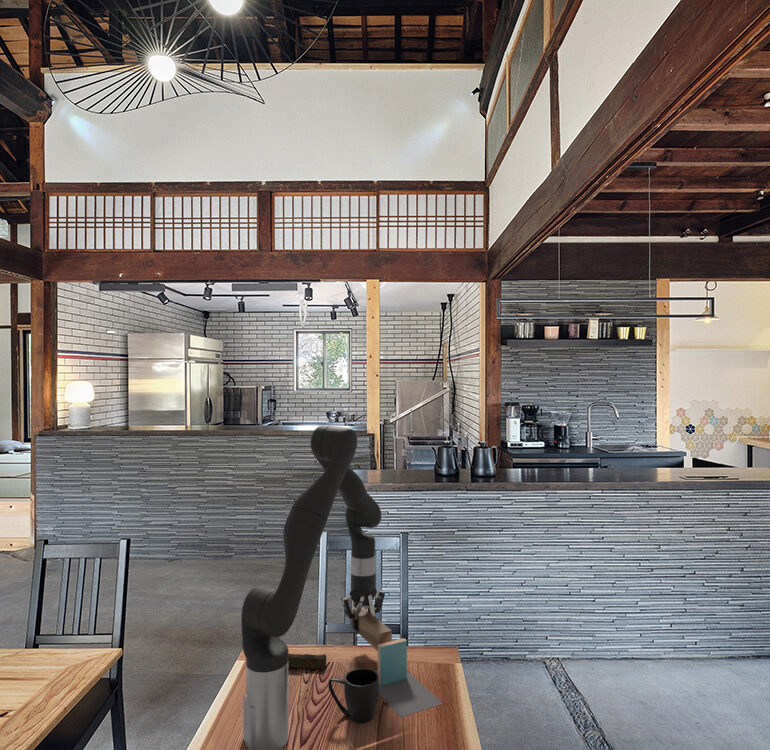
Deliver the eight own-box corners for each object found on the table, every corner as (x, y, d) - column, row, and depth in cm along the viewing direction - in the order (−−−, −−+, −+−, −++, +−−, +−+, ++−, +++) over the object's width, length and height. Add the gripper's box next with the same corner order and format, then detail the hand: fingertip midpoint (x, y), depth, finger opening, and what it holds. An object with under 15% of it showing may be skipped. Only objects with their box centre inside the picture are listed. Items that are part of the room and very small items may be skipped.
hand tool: (327, 666, 152) (327, 649, 152) (324, 673, 148) (324, 656, 148) (263, 662, 154) (263, 645, 154) (258, 669, 150) (258, 652, 151)
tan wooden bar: (378, 652, 146) (378, 633, 146) (351, 626, 161) (351, 609, 162) (391, 649, 147) (391, 630, 148) (363, 624, 163) (363, 607, 163)
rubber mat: (400, 719, 127) (400, 717, 127) (360, 675, 146) (360, 674, 146) (442, 705, 133) (442, 703, 133) (399, 664, 152) (399, 663, 152)
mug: (332, 705, 133) (332, 666, 133) (380, 708, 131) (380, 668, 132) (325, 726, 124) (325, 684, 125) (376, 729, 123) (376, 687, 123)
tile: (380, 686, 140) (380, 647, 141) (377, 683, 142) (377, 644, 142) (407, 678, 144) (406, 640, 144) (404, 675, 146) (403, 638, 146)
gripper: (346, 578, 153) (346, 639, 152) (390, 570, 159) (390, 629, 159) (336, 570, 159) (336, 629, 159) (378, 563, 166) (378, 619, 165)
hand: (363, 629), depth 159 cm, fingers closed on tan wooden bar, 4 cm apart
